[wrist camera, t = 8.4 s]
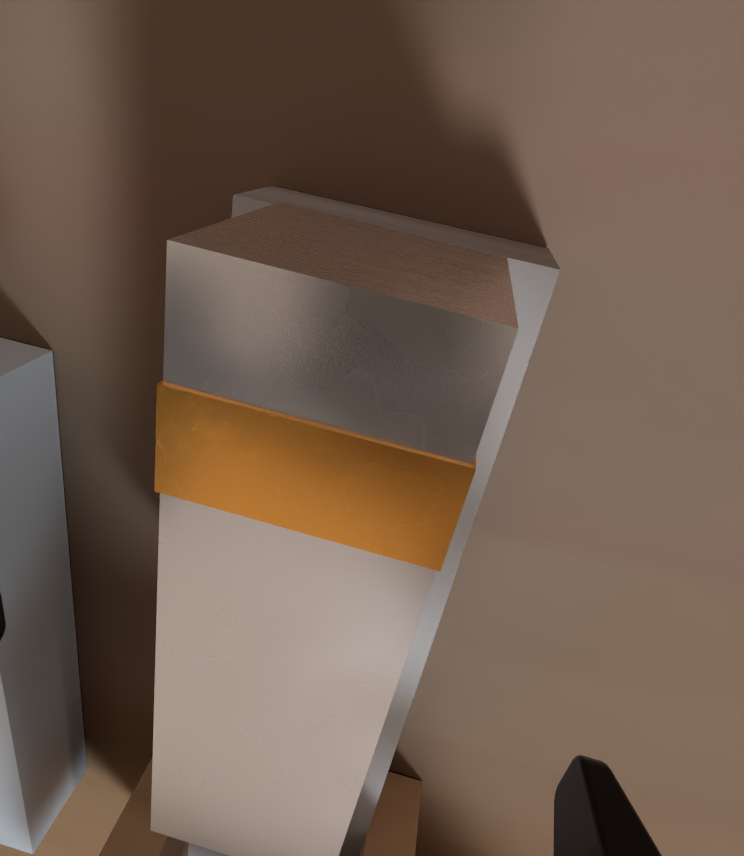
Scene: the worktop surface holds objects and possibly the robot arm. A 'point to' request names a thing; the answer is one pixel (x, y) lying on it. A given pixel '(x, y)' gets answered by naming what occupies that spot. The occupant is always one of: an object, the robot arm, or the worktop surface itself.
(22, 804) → the tray
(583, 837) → the robot arm
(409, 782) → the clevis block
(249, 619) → the beige and orange bar
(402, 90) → the worktop surface
